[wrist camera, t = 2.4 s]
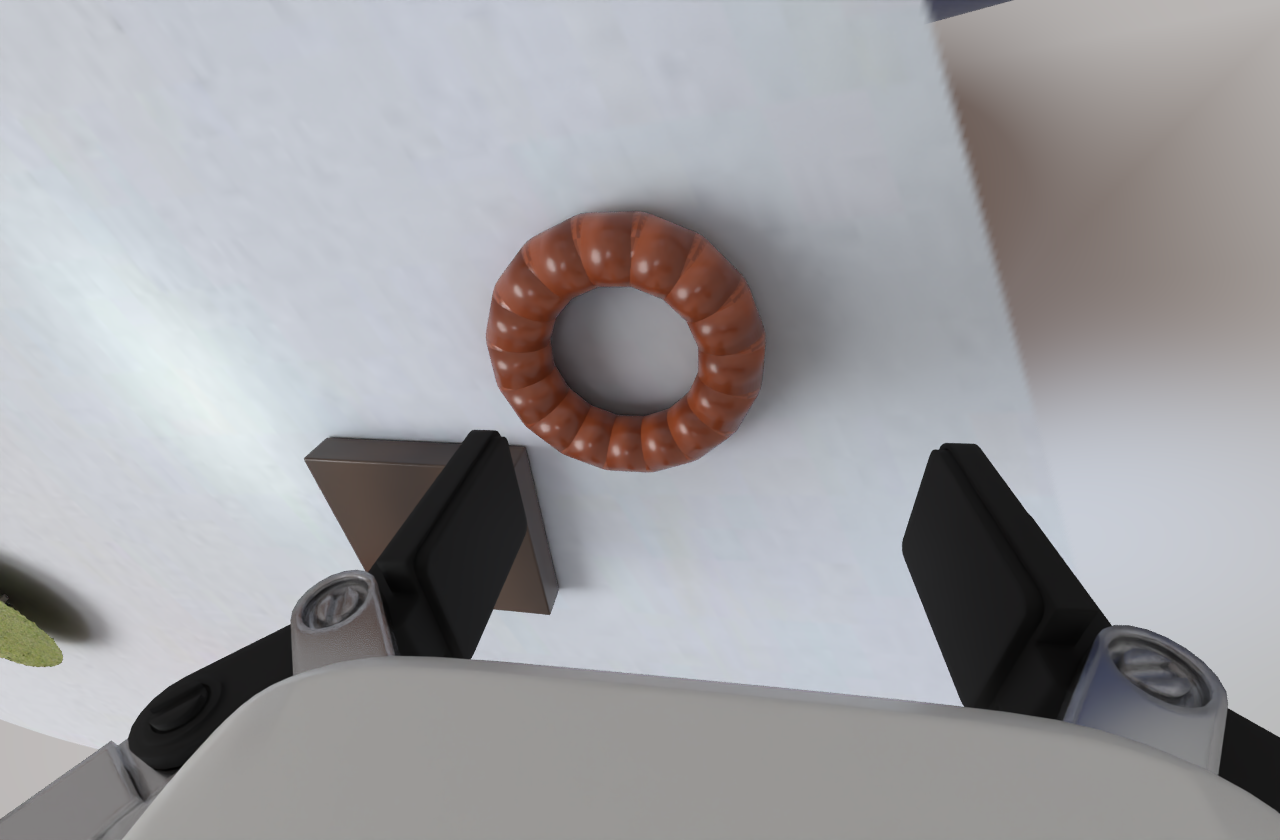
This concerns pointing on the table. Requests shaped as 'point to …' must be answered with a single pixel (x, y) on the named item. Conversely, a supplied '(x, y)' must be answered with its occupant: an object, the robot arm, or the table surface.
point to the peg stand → (395, 483)
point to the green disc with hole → (25, 639)
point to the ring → (655, 265)
